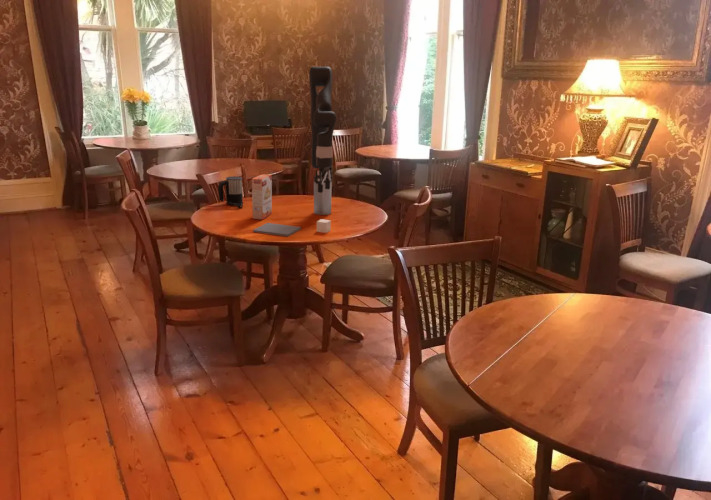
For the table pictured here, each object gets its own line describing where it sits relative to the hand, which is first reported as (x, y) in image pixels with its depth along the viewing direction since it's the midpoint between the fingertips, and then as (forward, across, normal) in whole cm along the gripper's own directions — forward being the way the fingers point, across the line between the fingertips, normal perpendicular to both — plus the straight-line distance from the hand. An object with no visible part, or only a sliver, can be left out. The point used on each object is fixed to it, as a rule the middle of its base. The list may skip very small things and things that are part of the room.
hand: (324, 190), depth 263 cm
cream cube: (+20, 0, 0) cm, 20 cm away
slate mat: (+20, +9, -20) cm, 29 cm away
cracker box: (+20, -11, -39) cm, 45 cm away
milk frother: (+20, -26, -64) cm, 72 cm away
